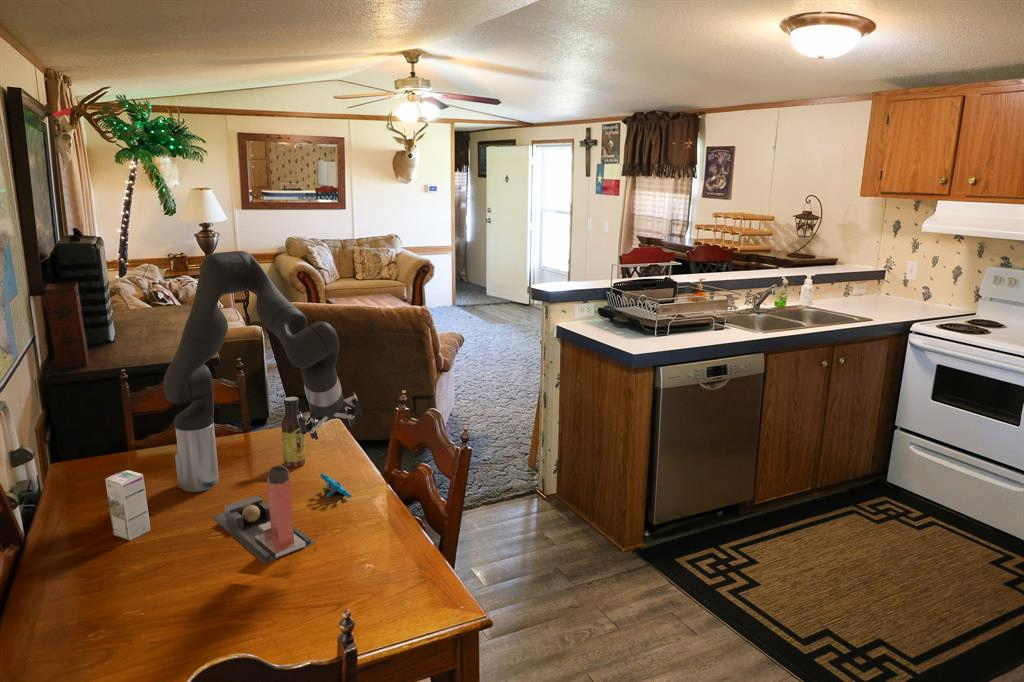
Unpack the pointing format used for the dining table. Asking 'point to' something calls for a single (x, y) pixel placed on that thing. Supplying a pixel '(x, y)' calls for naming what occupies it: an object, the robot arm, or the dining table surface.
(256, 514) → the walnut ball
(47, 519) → the dining table surface
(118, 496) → the syrup box
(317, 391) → the robot arm
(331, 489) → the gear
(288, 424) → the sauce bottle
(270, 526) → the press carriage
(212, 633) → the dining table surface
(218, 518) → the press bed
